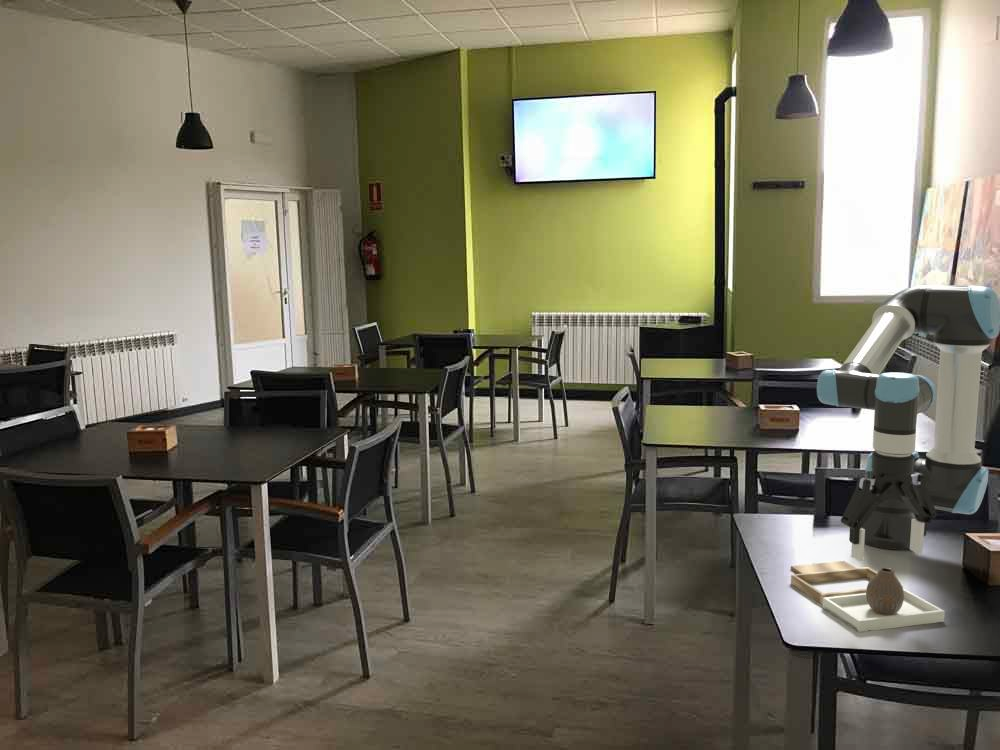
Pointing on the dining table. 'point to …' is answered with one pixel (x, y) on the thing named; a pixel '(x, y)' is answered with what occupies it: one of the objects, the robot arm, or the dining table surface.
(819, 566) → the lid
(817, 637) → the dining table surface
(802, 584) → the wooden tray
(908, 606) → the off-white tray
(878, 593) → the vase
